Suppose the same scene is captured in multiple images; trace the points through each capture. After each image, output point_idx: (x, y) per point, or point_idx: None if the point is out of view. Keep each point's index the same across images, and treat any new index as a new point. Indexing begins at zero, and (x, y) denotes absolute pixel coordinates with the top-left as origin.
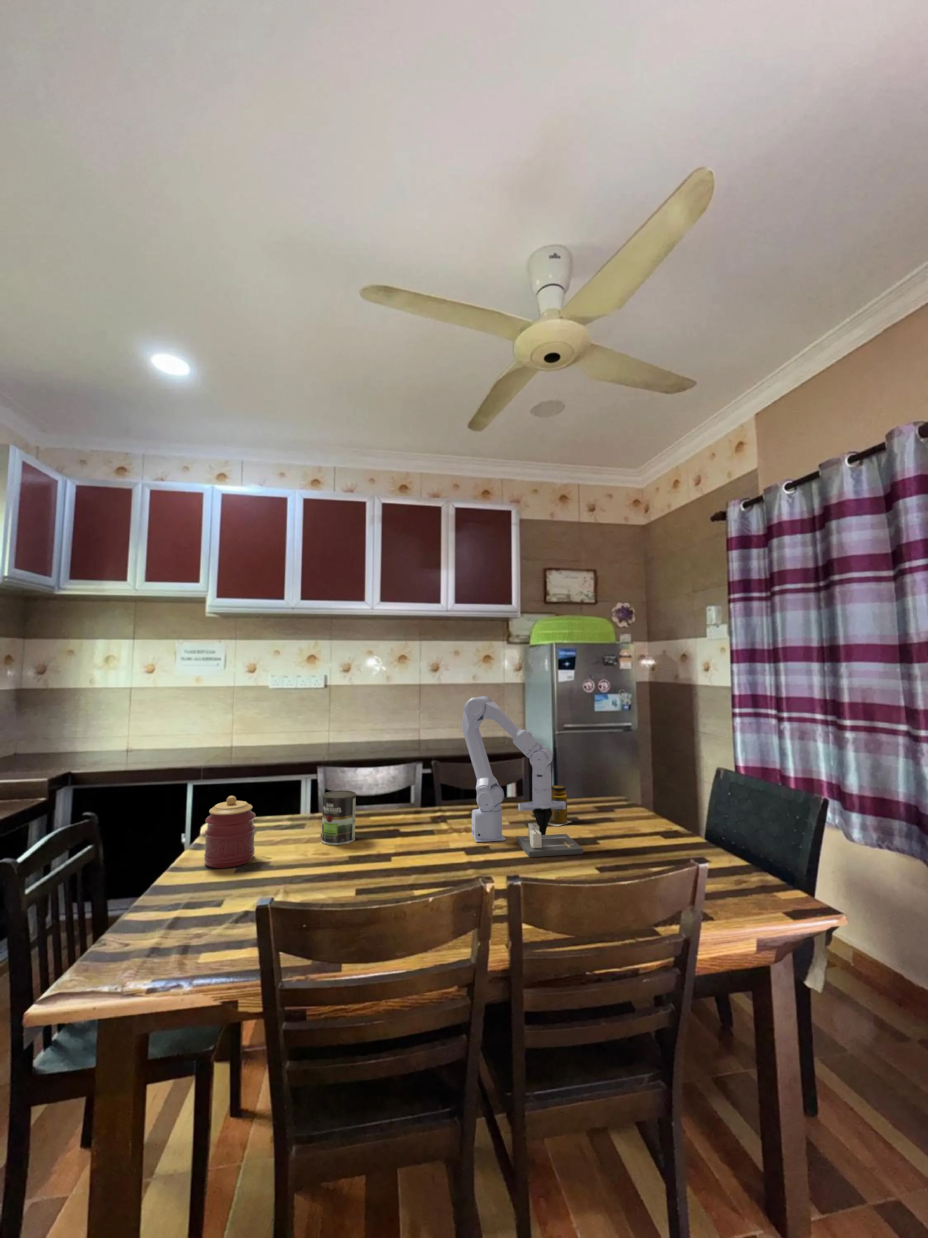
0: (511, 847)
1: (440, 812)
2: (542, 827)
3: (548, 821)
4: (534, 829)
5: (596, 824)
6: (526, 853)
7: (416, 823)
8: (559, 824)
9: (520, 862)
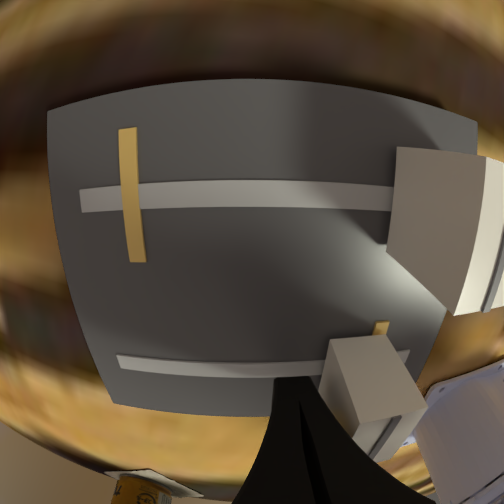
0: None
1: None
2: (318, 421)
3: (255, 473)
4: (395, 394)
5: (39, 435)
6: None
7: None
8: (143, 475)
9: (494, 77)
